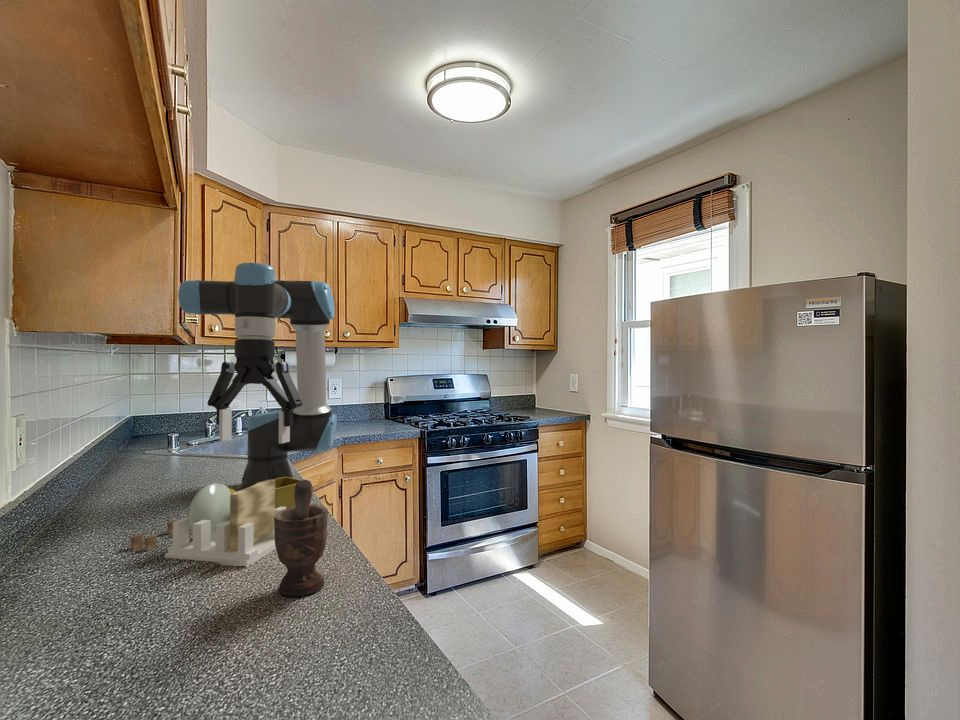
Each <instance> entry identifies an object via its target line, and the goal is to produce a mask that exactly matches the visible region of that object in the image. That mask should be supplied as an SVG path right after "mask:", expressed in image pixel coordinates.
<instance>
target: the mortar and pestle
mask: <svg viewBox="0 0 960 720" xmlns="http://www.w3.org/2000/svg"><path fill="white" fill-rule="evenodd" d="M300 480H301V481H299V482H298V483H297V484H296V486H295V491H294V499H295V505H296V506H294V507H289V508H286V509H284V510H281V511H279V512H278V513H276V515H275V516H274V529H275V546H276V549H275V550H276V553H277V554H276V555H277V557H278V561H280V563H281V564H282V565H284V566H285V567H286V569H287V571H286V573H285V574H284V576H283V577H282V578H281V581H280V583H279V586H278V592H279V594H281V595H282V596H287V597H297V596H302V597H304V596H303V595H306V596H309V595H308V594H311V593H314V592H316V591H317V592H319V591H320V590H322V587H324V585H325V578H324V574H323V573H322V572H320V571H319V570H318V569H317V568H316V563H317V562H318V561H320V559H321V558H322V556H323V554H324V552H325V548H326V545H327V538H328V518H329V517H328V516H329V515H328V514H329V509H328V508H327V507H326V506H323V505H320V504H316V503H315V504H311V502H312V500H313V499H312V498H313V492H314V487H313V484H312V482H311V481H310V480H308V479H300ZM319 589H320V590H319ZM317 592H316V593H317ZM314 594H315V593H314ZM311 595H312V594H311Z"/></svg>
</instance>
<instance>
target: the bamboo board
mask: <svg viewBox="0 0 960 720" xmlns="http://www.w3.org/2000/svg"><path fill="white" fill-rule="evenodd" d="M274 509H275V480H266V481H263V482H261V483H258V484H256V485H253V486H250V487H248V488H245V489H240V490H237V491H236V492H235V493H232V494H230V518H229V522H230V551H236V552H237V551H238V539H239V527H240V526H242V525H244V524H246V523H254V541H253V542H255V541H257V540H258V539H260V538H262V537H264V536H266V535H267V534H269V533H271V532H273V525H274Z"/></svg>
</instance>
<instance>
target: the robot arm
mask: <svg viewBox="0 0 960 720" xmlns="http://www.w3.org/2000/svg"><path fill="white" fill-rule="evenodd" d="M275 272H276V271H275V268H274V267H273V266H271V265H270V264H265V263H260V262H241V263H239V264H237V265H236V267H235V271H234V280H232V281H224V280H199V279H196V280H184V281H183V282H182V283H180V286H179V287H178V292H177V293H178V294H177V295H178V296H177V297H178V303H179V306H180V308H181V310H182V311H183V312H184V313H186V314H189V315H199V316H200V315H234V336H235V337H237V339H235V341H234V357H235V358H236V361H235V362H233V361H224V362H222V363H221V366H220V367H221V369H220V374H219V376H218V378H217V380H216V382H215V385H214V387H213V389H212V391H211V394H210V396H209V398H208V400H207V402H206V403H207V406H208V407H213V408H215V411H216V424H217V425H219V426H218V427H219V429H218V431H219V432H218V434H219V435H218V436H219V437H218V438H219V439H218V441H219V442H226V441H230V440H232V438H233V437H232V435H233V434H232V427H233V425H232V422H233V421H232V420H233V419H232V417H233V416H232V415H233V414H232V413H233V411H232V410H233V409H232V408H231V407H230V405H231V403H232V402H233V401H234V400H235V398H236V397H237V396H238V395H239V393H240V392H241V391H242V389H244V387H245V386H246V385H251V384H254V385H259V384H260V385H261V384H262V386H264V387H266V389H267V391H268V392H269V393H270V395H272V397H273V399H275V401H276V403H277V404H278V405H279V407H281V409H280V410H276V411H275V410H274V411H270V412H263V413H257V414H254V415H251V416H250V417H249V419H248V422H247V423H248V424H247V430H246V432H247V462H246V467H245V469H244V471H243V475H242V478H241V480H240V482H241V484H240V486H241V487H240V488H241V490H243V489H245V488H248V487H250V486H253V485H256V483H258V482H263V481H266V480H272V479H277V478H281V477H290V478H294V474H293V472H292V469H291V465H290V463H289V460H288V457H289V456H288V453H294V452H298V453H299V452H317V453H318V452H323V451H328V450H330V449H331V448H332V447H333V445H334V441H335V439H336V438H335V437H336V432H337V425H338V424H337V423H338V419H337V417H338V416H337V415H336V414H334V413H332V408H331V406H330V405H328V404H327V390H326V389H327V386H326V385H327V380H326V379H327V376H326V375H327V373H326V339H325V337H326V335H325V333H326V332H325V330H326V329H327V328H328V327H329V326H330V321H331V320H333V319H334V318H335V315H336V313H335V310H336V309H335V301H334V296H333V292H332V290H331V287H330V285H329V284H328V283H326V282H325V281H316V280H283V279H282V280H281V279H280V280H279V279H278V280H277V278H276V273H275ZM276 319H289V325H290V326H291V327H292V328H293V329H294V330H295V350H296V351H295V352H296V382H297V383H296V384H297V387H296V385H295V383H294V381H293V378H292V377H291V373H290V370H289V363H288V362H287V361H278V362H274V358H275V356H276V354H275V352H276V351H275V350H276V349H275V345H276V344H275V343H276V342H275V340H272V339H273V338H275V337H276ZM235 372H236V375H235V376H234V373H235ZM274 372H275V373H276V376H277V378H278V380H279V383H280V385H279V383H278V380H277V378H276V377H275V376H274V374H273V373H274ZM233 376H234V378H233ZM230 383H231V384H230Z"/></svg>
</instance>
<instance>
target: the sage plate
mask: <svg viewBox="0 0 960 720" xmlns="http://www.w3.org/2000/svg"><path fill="white" fill-rule="evenodd" d="M228 488H229V487H228V486H226V485H225V484H223V483H215V482H214V483H213V482H212V483H208V484H205V485H204V486H202V487H201V488H200V489H199V490H198V491H197V492H196V494H195V495H194V496H193V499H192V500H191V502H190V506H189V509H188V514H187V519H188V524H189V528H190V531H191V532H190V533H191V534H192V535H193V524H194V523H197V522H199V521H201V520H211V538H213V537H215V536H216V525H218V524H220V523H222V522H225V521H227V522H230V494H231V492H230V490H229V489H228Z"/></svg>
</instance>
